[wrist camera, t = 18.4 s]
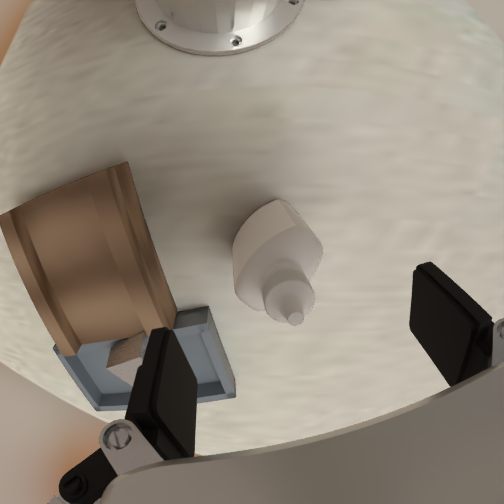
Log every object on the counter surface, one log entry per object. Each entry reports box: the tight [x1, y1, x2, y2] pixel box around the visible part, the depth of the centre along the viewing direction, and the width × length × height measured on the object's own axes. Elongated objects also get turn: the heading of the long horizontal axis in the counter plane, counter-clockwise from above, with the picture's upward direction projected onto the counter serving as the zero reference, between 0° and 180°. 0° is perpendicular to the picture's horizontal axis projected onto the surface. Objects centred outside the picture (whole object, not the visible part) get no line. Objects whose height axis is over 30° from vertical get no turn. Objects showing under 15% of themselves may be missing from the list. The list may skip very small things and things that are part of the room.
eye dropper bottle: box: [232, 199, 323, 326], centre depth 19 cm, size 4×6×12 cm
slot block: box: [0, 162, 177, 356], centre depth 22 cm, size 13×10×4 cm
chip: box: [106, 332, 149, 387], centre depth 24 cm, size 4×4×2 cm
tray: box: [53, 306, 236, 411], centre depth 27 cm, size 9×16×2 cm, turn 103°
